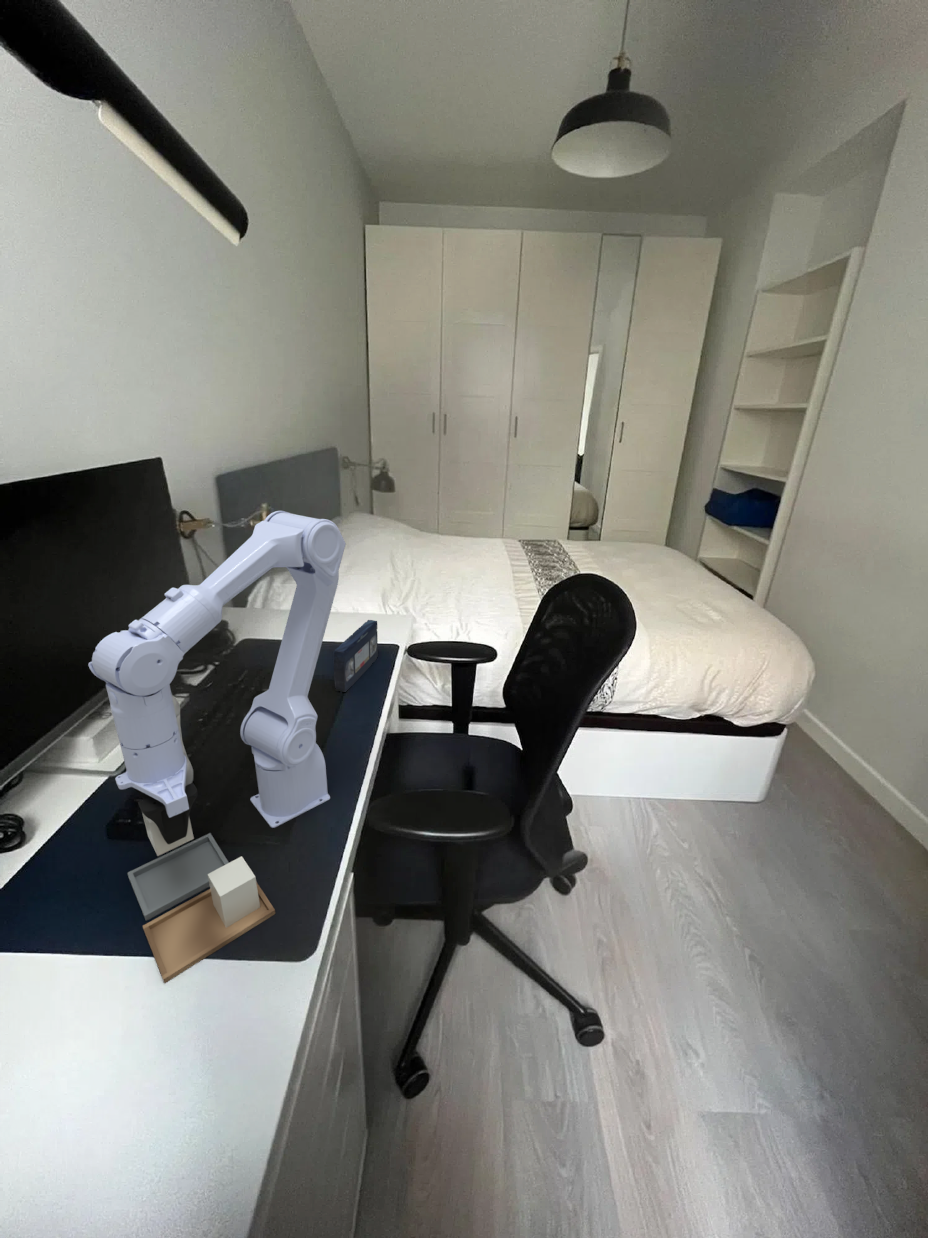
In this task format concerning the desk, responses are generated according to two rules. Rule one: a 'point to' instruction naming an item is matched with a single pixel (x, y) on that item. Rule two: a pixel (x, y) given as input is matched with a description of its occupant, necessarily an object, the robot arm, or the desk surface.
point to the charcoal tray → (176, 875)
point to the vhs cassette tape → (355, 655)
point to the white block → (158, 840)
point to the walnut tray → (196, 932)
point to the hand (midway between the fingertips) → (170, 828)
